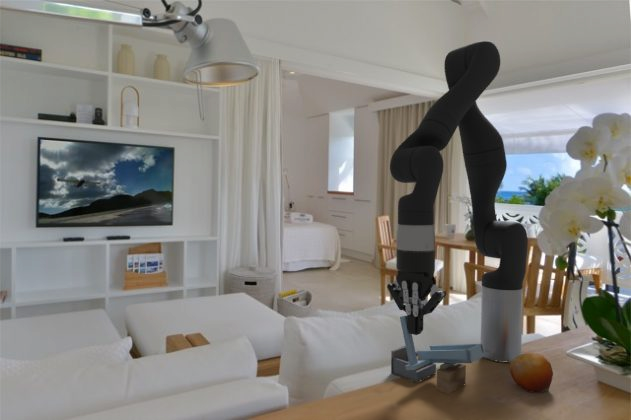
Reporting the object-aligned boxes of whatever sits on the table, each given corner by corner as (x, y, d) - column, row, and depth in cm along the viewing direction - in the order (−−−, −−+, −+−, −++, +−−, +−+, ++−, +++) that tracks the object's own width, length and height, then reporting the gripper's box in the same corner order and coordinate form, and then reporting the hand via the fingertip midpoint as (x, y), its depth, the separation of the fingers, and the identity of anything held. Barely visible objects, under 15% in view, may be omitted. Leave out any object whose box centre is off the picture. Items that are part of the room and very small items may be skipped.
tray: (410, 365, 101) (410, 343, 101) (435, 373, 96) (436, 351, 96) (391, 373, 96) (391, 350, 96) (417, 382, 91) (417, 359, 91)
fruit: (569, 391, 84) (546, 354, 85) (531, 408, 86) (509, 372, 86) (555, 375, 92) (534, 341, 93) (520, 391, 94) (500, 358, 94)
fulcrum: (454, 380, 93) (454, 354, 93) (465, 383, 91) (466, 357, 91) (436, 389, 88) (436, 362, 88) (447, 394, 86) (448, 366, 86)
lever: (433, 356, 96) (423, 309, 97) (484, 356, 87) (472, 304, 89) (402, 369, 88) (392, 318, 90) (455, 370, 79) (443, 313, 81)
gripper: (455, 248, 85) (454, 337, 85) (399, 243, 95) (399, 323, 95) (434, 251, 80) (434, 345, 80) (377, 246, 89) (377, 330, 90)
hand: (415, 333), depth 88 cm, fingers closed
